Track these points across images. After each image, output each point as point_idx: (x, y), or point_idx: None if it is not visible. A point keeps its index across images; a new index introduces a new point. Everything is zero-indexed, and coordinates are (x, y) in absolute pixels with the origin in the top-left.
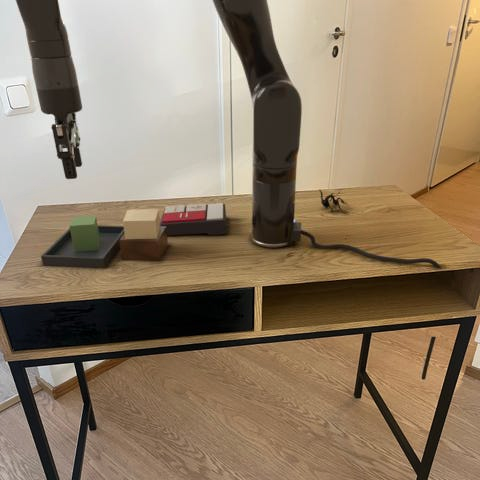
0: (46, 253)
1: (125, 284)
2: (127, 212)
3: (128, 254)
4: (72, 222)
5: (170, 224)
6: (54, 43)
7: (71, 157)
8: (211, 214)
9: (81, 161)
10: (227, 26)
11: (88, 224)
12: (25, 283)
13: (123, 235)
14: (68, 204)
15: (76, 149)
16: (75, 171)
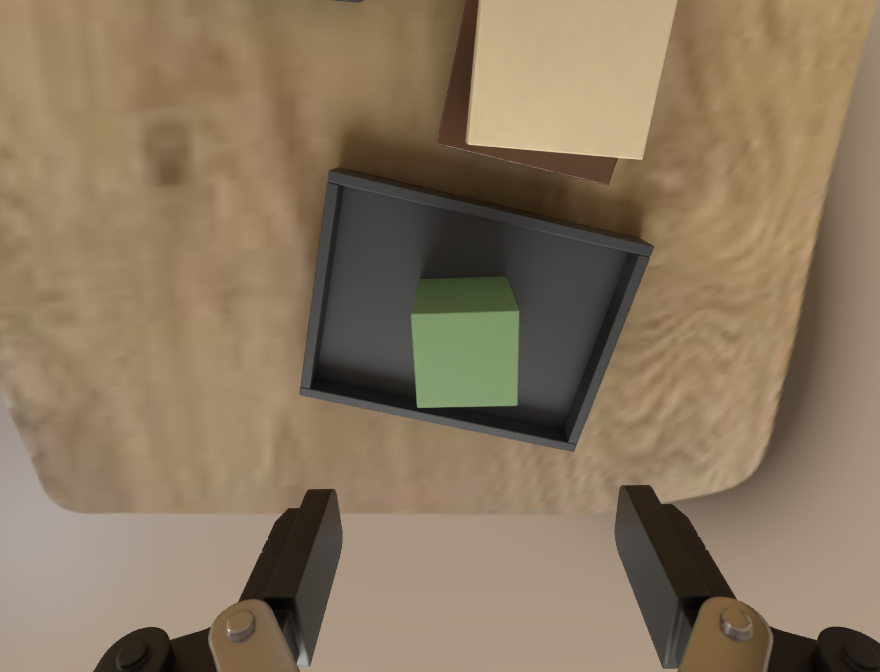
0: (555, 439)
1: (802, 147)
2: (513, 143)
3: None
4: (480, 399)
5: None
6: None
7: (862, 635)
8: None
9: (311, 505)
10: None
11: (516, 333)
12: (678, 456)
13: (562, 169)
14: (23, 440)
15: (302, 605)
16: (666, 516)
